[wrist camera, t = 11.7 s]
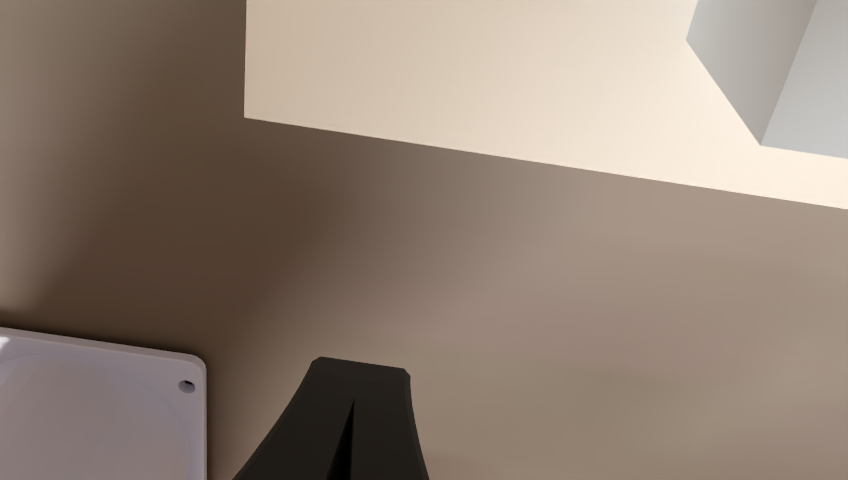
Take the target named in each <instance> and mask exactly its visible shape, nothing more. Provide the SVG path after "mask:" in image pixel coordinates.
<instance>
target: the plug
mask: <svg viewBox="0 0 848 480" xmlns="http://www.w3.org/2000/svg"><path fill="white" fill-rule="evenodd" d="M686 42H687V43H688V44H689V46H690V47H691V49H692V50H693V51H694V53H695V54H696V56H697V57H698V59H699V60H700V61H701V63H702V64H703V66H704V67H705V68H706V70H707V71H708V73H709V74H710V75H711V77H712V78H713V80H714V81H715V83H716V84H717V85H718V87H719V88H720V90H721V91H722V92H723V94H724V95H725V97H726V98H727V99H728V101H729V102H730V104H731V105H732V107H733V108H734V109H735V111H736V112H737V114H738V115H739V116H740V118H741V119H742V121H743V122H744V124H745V125H746V126H747V128H748V129H749V131H750V132H751V133H752V135H753V136H754V138H755V139H756V140H757V142H758V143H759V145H760V146H766V147H772V148H779V149H785V150H792V151H799V152H805V153H812V154H818V155H825V156H832V157H838V158H845V159H848V0H698V2H697V5H696V8H695V11H694V15H693V18H692V21H691V24H690V27H689V30H688V34H687V37H686Z"/></svg>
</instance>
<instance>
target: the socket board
mask: <svg viewBox="0 0 848 480" xmlns="http://www.w3.org/2000/svg"><path fill="white" fill-rule="evenodd" d="M697 2H698V0H247V10H246V53H245V96H244V117H245V118H251V119H258V120H264V121H271V122H277V123H284V124H291V125H297V126H304V127H310V128H317V129H324V130H330V131H337V132H343V133H350V134H356V135H363V136H370V137H376V138H383V139H389V140H396V141H403V142H409V143H416V144H422V145H429V146H435V147H442V148H449V149H455V150H462V151H468V152H475V153H482V154H488V155H495V156H501V157H508V158H514V159H521V160H528V161H534V162H541V163H547V164H554V165H561V166H567V167H574V168H580V169H587V170H593V171H600V172H607V173H613V174H620V175H626V176H633V177H640V178H646V179H653V180H659V181H666V182H672V183H679V184H686V185H692V186H699V187H705V188H712V189H719V190H725V191H732V192H738V193H745V194H751V195H758V196H765V197H771V198H778V199H784V200H791V201H798V202H804V203H811V204H817V205H824V206H830V207H837V208H844V209H848V159H845V158H838V157H832V156H825V155H818V154H812V153H805V152H799V151H792V150H785V149H779V148H772V147H766V146H760V145H759V143H758V142H757V140H756V139H755V138H754V136H753V135H752V133H751V132H750V131H749V129H748V128H747V126H746V125H745V124H744V122H743V121H742V119H741V118H740V116H739V115H738V114H737V112H736V111H735V109H734V108H733V107H732V105H731V104H730V102H729V101H728V99H727V98H726V97H725V95H724V94H723V92H722V91H721V90H720V88H719V87H718V85H717V84H716V83H715V81H714V80H713V78H712V77H711V75H710V74H709V73H708V71H707V70H706V68H705V67H704V66H703V64H702V63H701V61H700V60H699V59H698V57H697V56H696V54H695V53H694V51H693V50H692V49H691V47H690V46H689V44H688V43H687V42H686V37H687V34H688V30H689V27H690V24H691V21H692V18H693V15H694V11H695V8H696V5H697Z"/></svg>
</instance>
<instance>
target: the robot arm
mask: <svg viewBox="0 0 848 480" xmlns="http://www.w3.org/2000/svg"><path fill="white" fill-rule="evenodd" d="M185 380H187V381H190V382H192V383H193V384H194V385H190V384H187V383H185V382H184V381H185ZM0 480H207V403H206V366H205V364H204V362H203V361H202V360H201V359H200V358H198V357H197V356H194V355H190V354H184V353H177V352H170V351H163V350H156V349H149V348H142V347H135V346H129V345H122V344H115V343H108V342H101V341H94V340H87V339H80V338H73V337H66V336H59V335H52V334H45V333H38V332H31V331H24V330H18V329H11V328H4V327H0ZM232 480H429V476H428V473H427V469H426V466H425V462H424V459H423V455H422V451H421V447H420V443H419V439H418V434H417V429H416V424H415V419H414V413H413V407H412V400H411V389H410V375H409V374H408V373H407V372H406V370H405V369H403V368H396V367H389V366H382V365H375V364H369V363H362V362H355V361H348V360H341V359H334V358H327V357H319V358H317V359H316V360H314V361H312V363H311V365H310V367H309V369H308V371H307V373H306V375H305V377H304V379H303V381H302V383H301V384H300V386H299V388H298V389H297V391H296V393H295V394H294V396H293V398H292V399H291V401H290V402H289V404H288V405H287V407H286V408H285V410H284V411H283V413H282V414H281V416H280V417H279V419H278V420H277V422H276V423H275V425H274V426H273V427H272V429H271V430H270V431H269V433H268V434H267V436H266V437H265V438H264V440H263V441H262V442H261V444H260V445H259V446H258V448H257V449H256V450H255V452H254V453H253V455H252V456H251V457H250V459H249V460H248V461H247V462H246V464H245V465H244V466H243V467H242V469H241V470H240V471H239V472H238V473H237V475H236V476H235V477H234V478H233V479H232Z"/></svg>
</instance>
